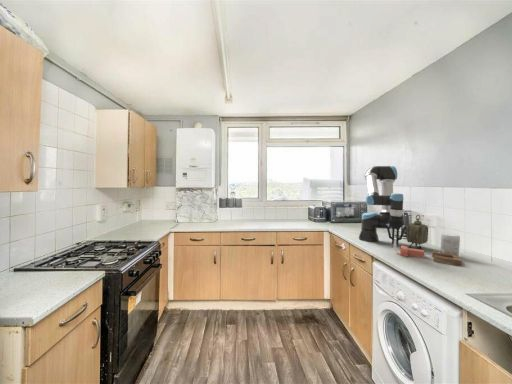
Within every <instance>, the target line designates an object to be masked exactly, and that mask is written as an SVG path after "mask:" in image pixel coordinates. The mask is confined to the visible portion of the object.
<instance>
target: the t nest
mask: <svg viewBox="0 0 512 384" xmlns="http://www.w3.org/2000/svg"><path fill="white" fill-rule="evenodd" d="M431 254H432V255H431V257H432V258H433V259H432V260H433V262H434V263H441V264H446V265H452V266H460V267H462V265H463V264H462V263H463V261H462V259H461V257H460V255H459V256H458V255H455V254H448V253H441V251H432V253H431Z"/></svg>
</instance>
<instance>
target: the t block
mask: <svg viewBox="0 0 512 384" xmlns="http://www.w3.org/2000/svg"><path fill="white" fill-rule="evenodd" d="M399 250H400V252H399V255H400V257H406V258H408V256H410V257H414V258H415V257H416V258H422V259H424V258H425V250H424V249H418V248H417V249H416V248H412V247H411V248H410V247H409V246H407V245H401V246H400V249H399Z"/></svg>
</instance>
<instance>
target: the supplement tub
mask: <svg viewBox="0 0 512 384" xmlns="http://www.w3.org/2000/svg"><path fill="white" fill-rule="evenodd" d="M440 237H441V239H440V240H441V242H440V252H441V253H448V254H455V255H458V256H459V257H460V246H461V245H460V244H461V243H460V242H461V240H460V239H461V238H460V237H461V236H460V235H459V234H456V233H451V232H450V233H449V232H442V233H441V236H440Z"/></svg>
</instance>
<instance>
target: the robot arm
mask: <svg viewBox="0 0 512 384" xmlns="http://www.w3.org/2000/svg"><path fill="white" fill-rule="evenodd" d="M397 179H398V170H397V168H396V166H394V165H393V166H392V165H374V166H372V167H370V168H368V169H367V170H366V172H365V174H364V180H365V181H366V188H367V189H366V190H367V195H365V204H366V205H369V206H381V211H380V212H379V214H378V212H376V211H375V212H373V211H372V212H371V211H370V212H365V213H364V212H363V213H362V215H361V230H360V233H359V235H358V239H359V240H361V241H364V242H368V243H375V242H376V243H377V242H379V241H380V240H379V235H378V233H377V230H378V229H382V230H384V229H386V231H387V235H388V238H389V239H391V245H393V250H397V246H398V245H399V241H401V240H402V239H403V236H404V232H405V230H407V227H408V226H406V225H404V223H403V218H404V217H403V215H404V194H403V193H397V192H396V193H394V183H395V182H396V180H397ZM377 180H379V183H381V184H380V185H381V195H380V191H379V187H378V182H377ZM401 228H402V229H401ZM400 229H401V233H400ZM395 230H396V238H395ZM391 231H392V232H391ZM391 233H392V234H391ZM399 234H400V235H399Z"/></svg>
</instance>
